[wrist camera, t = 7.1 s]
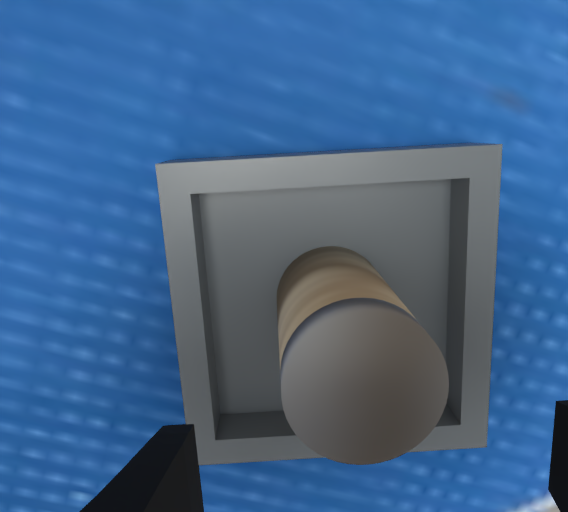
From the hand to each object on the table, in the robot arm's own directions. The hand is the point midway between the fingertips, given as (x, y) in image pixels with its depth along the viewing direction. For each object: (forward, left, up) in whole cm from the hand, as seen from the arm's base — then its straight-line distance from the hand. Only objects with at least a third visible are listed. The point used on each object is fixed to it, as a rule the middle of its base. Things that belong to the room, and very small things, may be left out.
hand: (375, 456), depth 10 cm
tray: (0, 0, -10) cm, 10 cm away
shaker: (0, 0, -9) cm, 9 cm away
